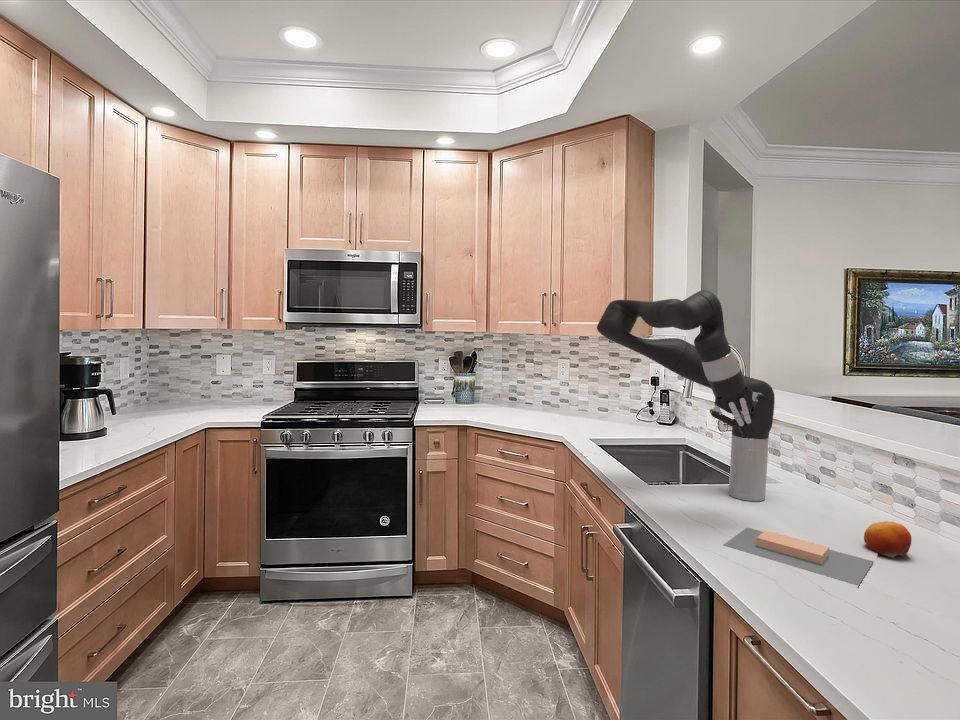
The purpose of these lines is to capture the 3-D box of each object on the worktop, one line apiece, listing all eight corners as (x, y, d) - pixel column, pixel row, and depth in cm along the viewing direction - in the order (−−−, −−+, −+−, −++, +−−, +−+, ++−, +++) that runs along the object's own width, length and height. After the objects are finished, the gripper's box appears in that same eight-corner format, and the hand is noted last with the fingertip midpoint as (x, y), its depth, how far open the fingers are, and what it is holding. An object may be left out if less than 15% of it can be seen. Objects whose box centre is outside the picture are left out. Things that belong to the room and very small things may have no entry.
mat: (747, 530, 124) (747, 527, 124) (873, 564, 107) (873, 561, 107) (722, 547, 114) (722, 545, 114) (858, 588, 97) (858, 585, 97)
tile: (765, 530, 117) (829, 547, 109) (765, 539, 117) (828, 556, 109) (756, 537, 113) (822, 555, 105) (755, 546, 113) (821, 565, 105)
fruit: (901, 560, 106) (883, 519, 110) (867, 565, 113) (851, 526, 117) (931, 556, 108) (912, 516, 112) (895, 561, 115) (879, 523, 119)
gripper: (698, 387, 124) (726, 452, 126) (756, 365, 120) (784, 432, 123) (692, 379, 131) (718, 440, 133) (746, 358, 128) (773, 421, 130)
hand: (750, 436), depth 128 cm, fingers closed
